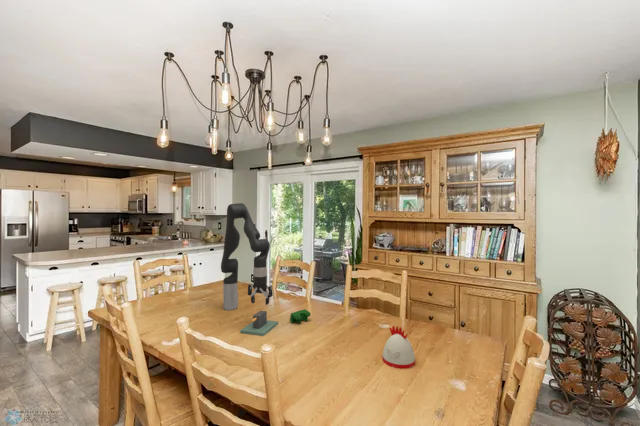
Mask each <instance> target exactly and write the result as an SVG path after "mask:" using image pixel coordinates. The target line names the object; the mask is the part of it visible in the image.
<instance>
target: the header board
mask: <svg viewBox="0 0 640 426" xmlns="http://www.w3.org/2000/svg"><path fill="white" fill-rule="evenodd" d="M278 324H279V321H278V320H277V321H275V320H268V319H267V324H265V325H264V326H263V327H261V328H260V329H255V328H253V321H252V322H250V323H248V324H247V325H245V326H244V327H243V328H242V329H241V328H240V330H239V332H240V333H239V334H246V335H253V336H260V337H265V335H266V336H267V334H268V333H270V331H272V330H273V329H274V328H276V326H278Z"/></svg>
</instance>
